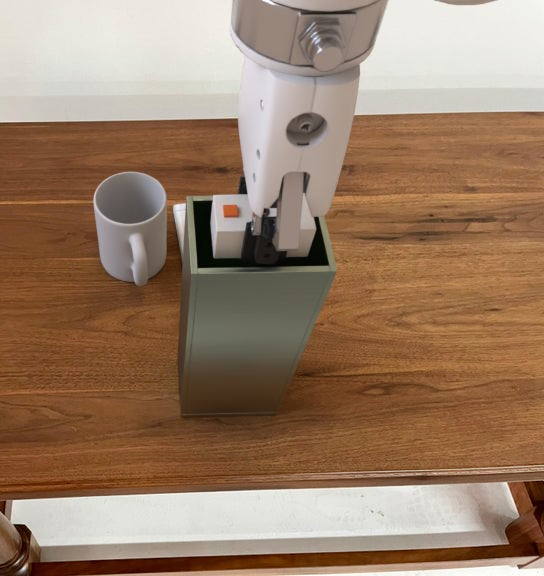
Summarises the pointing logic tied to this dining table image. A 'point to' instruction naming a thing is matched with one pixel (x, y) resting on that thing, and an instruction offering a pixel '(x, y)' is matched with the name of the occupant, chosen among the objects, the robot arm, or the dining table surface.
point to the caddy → (244, 321)
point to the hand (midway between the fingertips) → (259, 235)
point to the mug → (131, 226)
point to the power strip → (232, 223)
